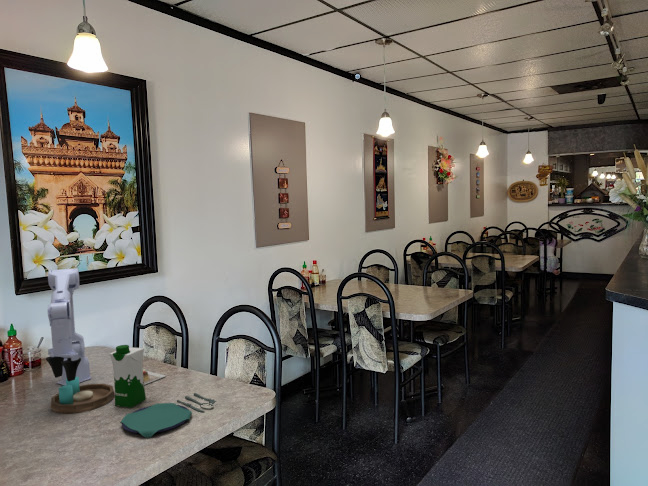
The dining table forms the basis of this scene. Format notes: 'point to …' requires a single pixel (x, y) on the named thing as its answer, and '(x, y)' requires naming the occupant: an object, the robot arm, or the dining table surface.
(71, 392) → the bead
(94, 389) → the groove tray
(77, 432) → the dining table surface
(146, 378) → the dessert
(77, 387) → the teal upright block
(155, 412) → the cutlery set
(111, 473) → the dining table surface
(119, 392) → the milk carton
